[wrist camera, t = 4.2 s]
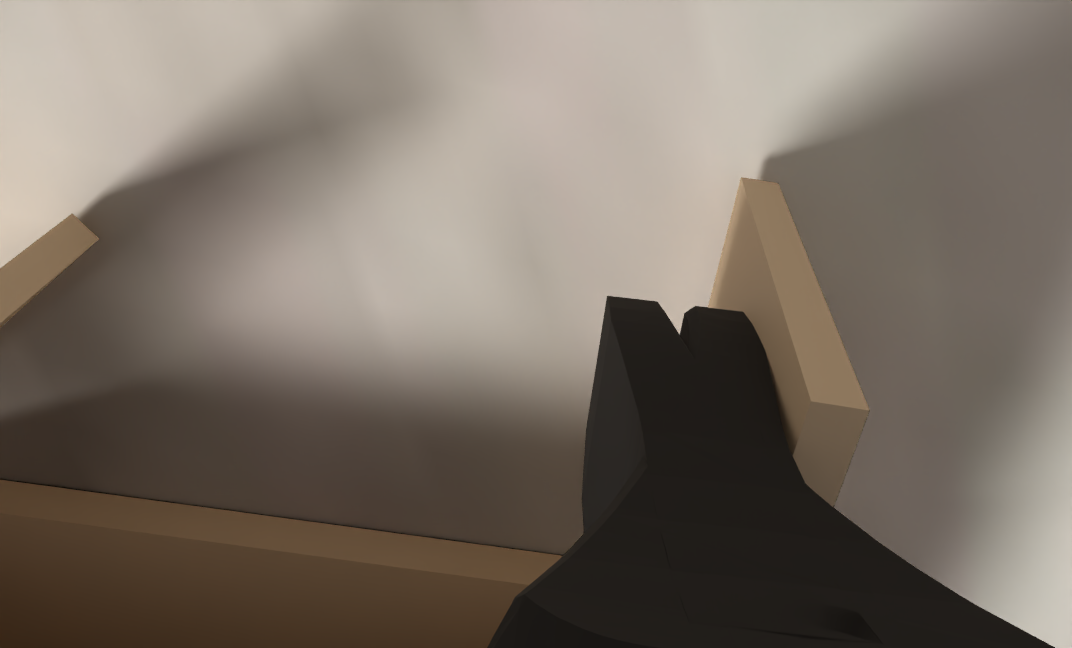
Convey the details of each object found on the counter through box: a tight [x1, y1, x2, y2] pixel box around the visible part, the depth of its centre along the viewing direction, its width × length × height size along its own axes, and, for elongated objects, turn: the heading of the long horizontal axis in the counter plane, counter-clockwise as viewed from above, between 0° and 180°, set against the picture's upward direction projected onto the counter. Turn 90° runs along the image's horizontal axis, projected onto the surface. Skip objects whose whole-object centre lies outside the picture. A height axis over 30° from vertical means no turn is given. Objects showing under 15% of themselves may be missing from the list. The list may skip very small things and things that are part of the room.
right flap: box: [708, 177, 870, 508], centre depth 12 cm, size 7×1×5 cm, turn 172°
